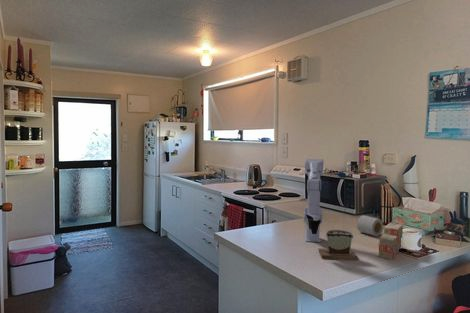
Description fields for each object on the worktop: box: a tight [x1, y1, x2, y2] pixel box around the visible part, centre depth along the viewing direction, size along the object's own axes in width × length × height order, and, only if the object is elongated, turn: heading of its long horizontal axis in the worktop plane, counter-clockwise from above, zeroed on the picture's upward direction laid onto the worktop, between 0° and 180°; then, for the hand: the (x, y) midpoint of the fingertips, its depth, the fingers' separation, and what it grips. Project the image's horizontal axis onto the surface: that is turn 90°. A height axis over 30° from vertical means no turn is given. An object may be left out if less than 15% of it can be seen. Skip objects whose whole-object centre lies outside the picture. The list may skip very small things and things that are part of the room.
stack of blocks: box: [378, 222, 404, 260], centre depth 163 cm, size 21×6×12 cm, turn 143°
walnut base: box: [317, 247, 359, 261], centre depth 158 cm, size 10×16×2 cm, turn 86°
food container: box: [325, 229, 354, 255], centre depth 158 cm, size 12×6×10 cm, turn 86°
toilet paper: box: [356, 215, 384, 237], centre depth 194 cm, size 10×10×10 cm
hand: (312, 231), depth 162 cm, fingers open, 7 cm apart
